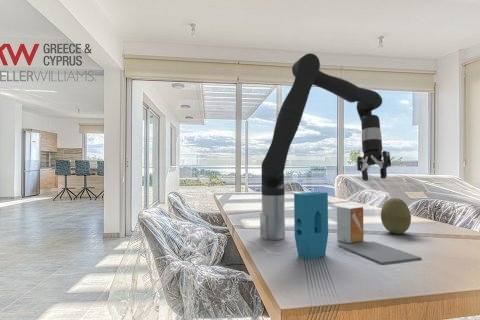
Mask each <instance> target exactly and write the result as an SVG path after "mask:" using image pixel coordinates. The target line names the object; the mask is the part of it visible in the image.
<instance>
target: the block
mask: <svg viewBox="0 0 480 320" xmlns="http://www.w3.org/2000/svg"><path fill="white" fill-rule="evenodd" d="M328 196H329V192H327V191H326V192H324V191H310V192H309V191H308V192H300V193H293V201H294V202H293V203H294V204H293V206H294V207H293V211H294V213H293V214H294V217H293V219H294V220H293V221H294V229H293V230H294V240H295V241H294V242H295V245H296V251H297V255H298V258H302V259H304V260H308V261H309V260H310V261H311V260H315V259H319V258H321V257H325V256H326V251H327V246H328V245H327V244H328V240H329V239H328V237H329V197H328Z"/></svg>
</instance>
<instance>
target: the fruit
mask: <svg viewBox="0 0 480 320" xmlns="http://www.w3.org/2000/svg"><path fill="white" fill-rule="evenodd" d="M380 219H381V223H382V226H383V227H384V228H385V229H386V230H387V232H389V233H392V234H398V235H400V234H404V233H405V232H407V231H408V230H409V228H410V226H411V222H412V215H411V211H410V208H409V206H408V204H407V203H406V202H405V200H403V199H401V198H398V197H394V198H393V197H392V198H389V199H387V200H386V201H385V202H384V204H383V205H382V207H381V210H380Z"/></svg>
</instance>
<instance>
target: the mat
mask: <svg viewBox="0 0 480 320" xmlns="http://www.w3.org/2000/svg"><path fill="white" fill-rule="evenodd" d="M338 247H339V248H342V249H344V250H345V251H349V252H351V253H353V254H356V255H358V256H361V257H362V258H364V259H367V260H370V261H372V262H375V263H376V264H379V265H387V264H389V265H390V264H395V263H404V262H405V263H406V262H413V261H421V260H422V257H421V256H418V255H415V254H413V253H409V252H406V251H403V250H400V249H397V248H395V247H391V246H388V245H386V244H382V243H380V242H376V241H374V240H373V241H366V242H363V241H362V242H354V243H345V244H339V245H338Z"/></svg>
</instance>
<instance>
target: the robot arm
mask: <svg viewBox="0 0 480 320" xmlns="http://www.w3.org/2000/svg"><path fill="white" fill-rule="evenodd" d="M320 69H321V62H320V59H319V57H318V56H317V55H316V54H315V53H311V52H310V53H306V54H303V55H302V56H300V57H299V58H298V59H297V60H295V61H294V63H293V64H292V67H291V71H292V75H293V77H294V81H293V84H292V86H291V87H290V90H289V91H288V93H287V95H286V97H285V99H284V101H283V102H282V105H281V107H280V109H279V112H278V115H277V117H276V121H275V124H274V125H275V126H274V129H273V135H272V140H271V143H270V146H269V148H268V149H267V152H266V154H265V156H264V159H263V160H262V161H261V212H260V213H259V222H260V223H259V226H260V227H259V229H260V234H259V235H260V237H261V238H263V239H264V240H270V241H271V240H272V241H273V240H274V241H277V240H278V241H279V240H283V239H285V238H286V222H285V221H286V219H285V215H286V212H285V211H286V208H285V207H286V206H285V204H286V203H285V201H286V200H285V199H286V197H285V189H286V188H285V168H286V163H287V157H288V153H289V151H290V147H291V145H292V142H293V140H294V138H295V136H296V134H297V133H298V132H297V131H298V129H299V126H300V123H301V121H302V117H303V115H304V112H305V108H306V104H307V102H308V98H309V96H310V92H311V89H312V87H313V86H316V87H318V88H320V89H323V90H325V91H327V92H329V93H332V94H334V95H335V96H337V97H339V98H340V99H342V100H344V101H346V102H349V103H351V104H353V103H356V111H357V114H358V117H359V120H360V122H361V123H360V124H361V151H362V153H363V155H362V156H357V159H356V160H357V165H356V167H357V171H358V172H361V179H362V180H363V181H364V182H367V181H369V169H370V168H371V166H375V165H378V167H379V172H380V173H379V174H380V179H383V180H385V179H387V177H388V173H387V169H388V167H389V168H390V167H391V166H392V161H391V154H390V152H389V151H386V150H384V151H383V141H382V132H381V122H380V121H381V120H380V117H379V116H378V115H377V114H373V112H372V111H374V110H376V109H378V108H380V107H381V106H382V104H383V97H382V96H381V94H380V93H378V92H376V91H374V90H373V89H368V88H366V87H365V88H364V87H359V86H357V85H356V84H354V83H352V82H350V81H349V80H347V79H344V78H341V77H338V76H335V75H334V76H333V75H330V74H328V73H325V72H323V71H321V70H320Z"/></svg>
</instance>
